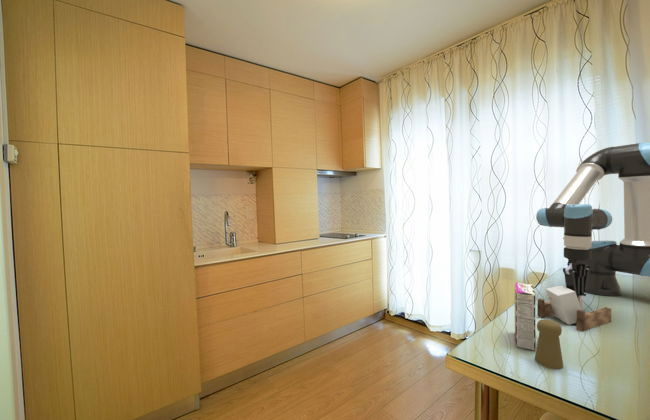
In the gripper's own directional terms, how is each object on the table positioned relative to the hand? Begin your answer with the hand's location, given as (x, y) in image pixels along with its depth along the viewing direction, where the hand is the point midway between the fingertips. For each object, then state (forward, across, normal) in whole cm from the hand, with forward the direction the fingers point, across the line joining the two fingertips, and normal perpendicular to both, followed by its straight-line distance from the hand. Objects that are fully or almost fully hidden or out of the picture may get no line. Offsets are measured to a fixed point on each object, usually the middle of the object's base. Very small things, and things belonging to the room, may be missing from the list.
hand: (576, 313), depth 105 cm
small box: (+1, +5, 0) cm, 5 cm away
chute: (+2, +2, 0) cm, 3 cm away
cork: (+2, +40, +13) cm, 42 cm away
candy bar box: (+2, +34, +3) cm, 34 cm away
